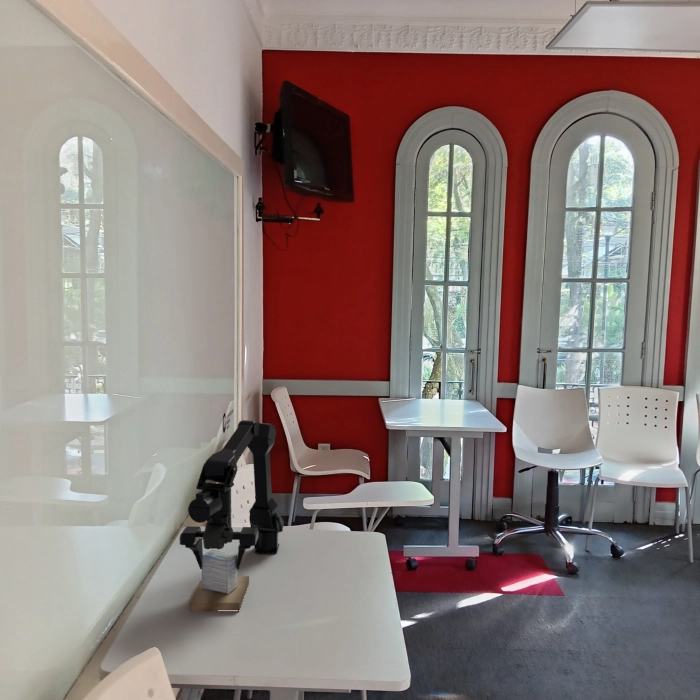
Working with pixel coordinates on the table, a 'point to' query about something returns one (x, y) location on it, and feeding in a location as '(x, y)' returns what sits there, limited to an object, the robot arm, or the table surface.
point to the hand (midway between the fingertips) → (219, 568)
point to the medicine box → (219, 571)
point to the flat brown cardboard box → (219, 597)
